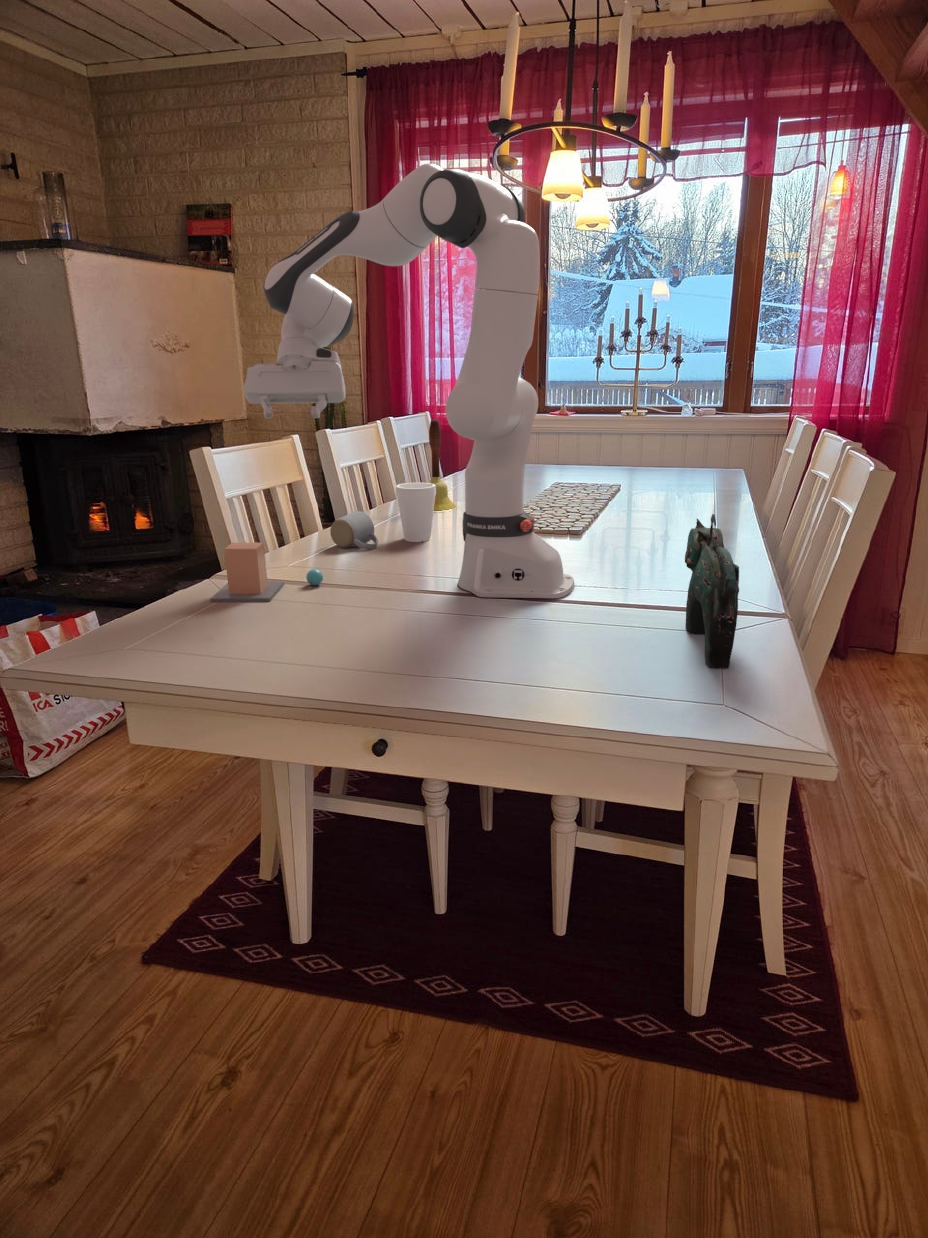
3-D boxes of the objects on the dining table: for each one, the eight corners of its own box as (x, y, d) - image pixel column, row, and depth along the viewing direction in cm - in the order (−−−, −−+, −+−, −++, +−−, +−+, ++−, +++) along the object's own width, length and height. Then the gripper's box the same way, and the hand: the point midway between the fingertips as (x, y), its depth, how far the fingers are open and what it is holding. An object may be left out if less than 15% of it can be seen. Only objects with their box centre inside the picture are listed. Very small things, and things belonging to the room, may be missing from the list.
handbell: (464, 506, 234) (463, 418, 226) (446, 513, 223) (444, 422, 215) (427, 503, 239) (424, 418, 231) (407, 510, 228) (404, 421, 220)
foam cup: (431, 544, 188) (429, 489, 184) (393, 542, 190) (391, 488, 186) (440, 535, 197) (439, 482, 193) (404, 534, 198) (402, 482, 194)
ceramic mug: (328, 547, 186) (326, 515, 183) (350, 540, 193) (349, 509, 190) (364, 553, 181) (363, 520, 178) (386, 546, 187) (385, 513, 185)
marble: (326, 583, 157) (325, 567, 156) (319, 587, 154) (317, 571, 153) (311, 582, 158) (310, 566, 157) (304, 586, 155) (302, 570, 154)
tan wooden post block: (267, 586, 153) (263, 542, 151) (260, 593, 149) (256, 548, 146) (237, 586, 154) (232, 542, 151) (229, 593, 149) (224, 548, 146)
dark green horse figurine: (676, 624, 131) (686, 504, 125) (717, 625, 130) (728, 504, 124) (698, 670, 112) (710, 531, 106) (745, 671, 112) (760, 531, 105)
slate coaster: (284, 584, 156) (283, 581, 156) (269, 601, 146) (269, 598, 146) (228, 585, 157) (228, 582, 156) (210, 601, 146) (210, 598, 146)
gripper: (244, 352, 161) (235, 405, 155) (344, 351, 160) (339, 404, 154) (252, 375, 167) (243, 427, 160) (349, 374, 166) (344, 426, 160)
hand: (291, 416), depth 157 cm, fingers open, 8 cm apart
